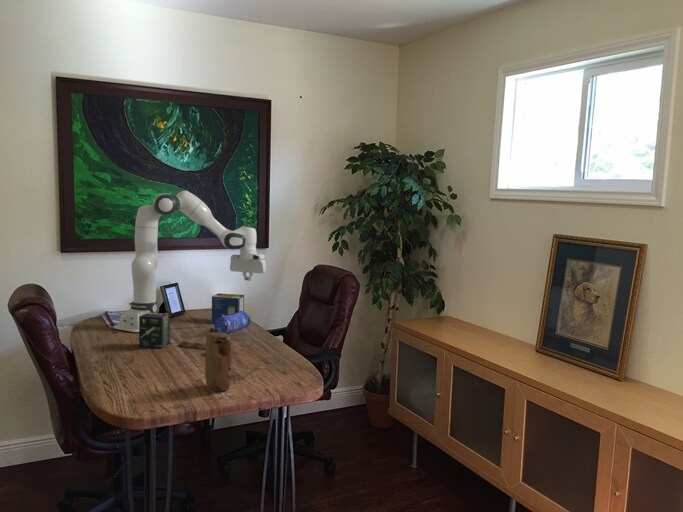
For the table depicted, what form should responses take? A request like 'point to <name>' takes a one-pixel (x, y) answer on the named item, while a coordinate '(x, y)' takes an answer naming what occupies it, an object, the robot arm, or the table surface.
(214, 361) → the block
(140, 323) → the tampon box
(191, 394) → the table surface
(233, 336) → the frame
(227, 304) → the protein box
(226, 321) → the pencil case
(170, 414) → the table surface
